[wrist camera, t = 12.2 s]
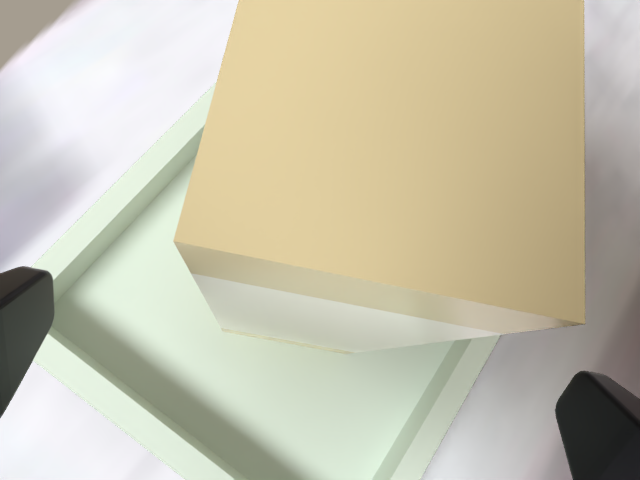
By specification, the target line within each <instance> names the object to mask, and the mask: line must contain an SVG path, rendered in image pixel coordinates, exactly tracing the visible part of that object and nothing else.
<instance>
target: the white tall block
mask: <svg viewBox="0 0 640 480" xmlns="http://www.w3.org/2000/svg"><path fill="white" fill-rule="evenodd" d="M173 242H174V244H175V245H176V247H177V249H178V251H179V253H180V255H181V256H182V258H183V260H184V262H185V264H186V265H187V267H188V269H189V271H190V273H191V275H192V276H193V278H194V280H195V282H196V284H197V285H198V287H199V289H200V291H201V293H202V294H203V296H204V298H205V300H206V302H207V304H208V305H209V307H210V309H211V311H212V313H213V314H214V316H215V318H216V320H217V322H218V324H219V325H220V327H221V329H222V331H223V332H228V333H233V334H239V335H244V336H250V337H255V338H261V339H266V340H272V341H277V342H283V343H288V344H294V345H299V346H305V347H310V348H315V349H321V350H326V351H332V352H337V353H343V354H350V353H358V352H366V351H374V350H382V349H390V348H398V347H406V346H414V345H422V344H430V343H438V342H446V341H454V340H462V339H470V338H478V337H486V336H494V335H502V334H510V333H518V332H526V331H534V330H542V329H550V328H559V327H567V326H575V325H583V324H585V119H584V0H239V2H238V6H237V9H236V13H235V17H234V20H233V24H232V28H231V31H230V35H229V39H228V42H227V46H226V50H225V53H224V57H223V61H222V64H221V68H220V72H219V75H218V79H217V83H216V86H215V90H214V94H213V97H212V101H211V105H210V108H209V112H208V116H207V119H206V123H205V127H204V130H203V134H202V138H201V141H200V145H199V149H198V152H197V156H196V160H195V163H194V167H193V171H192V174H191V178H190V182H189V185H188V189H187V193H186V196H185V200H184V204H183V207H182V211H181V215H180V218H179V222H178V226H177V229H176V233H175V237H174V240H173Z"/></svg>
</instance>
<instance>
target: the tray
mask: <svg viewBox="0 0 640 480" xmlns="http://www.w3.org/2000/svg"><path fill="white" fill-rule="evenodd" d="M216 83H217V82H216ZM216 83H215V84H214V85H213V86H212V87H211V88H210V89H209V90H208V91H207V92H206V93H205V94H204V95H203V96H202V97H201V98H200V99H199V100H198V101H197V102H196V103H195V104H194V105H193V106H192V107H191V108H190V109H189V110H188V111H187V112H186V113H185V114H184V115H183V116H182V117H181V118H180V119H179V120H178V121H177V122H176V123H175V124H174V125H173V126H172V127H171V128H170V129H169V130H168V131H167V132H166V133H165V134H164V135H163V136H162V137H161V138H160V139H159V140H158V141H157V142H156V143H155V144H154V145H153V146H152V147H151V148H150V149H149V150H148V151H147V152H146V153H145V154H144V155H143V156H142V157H141V158H140V159H139V160H138V161H137V162H136V163H135V164H134V165H133V166H132V167H131V168H130V169H129V170H128V171H127V172H126V173H125V174H124V175H123V176H122V177H121V178H120V179H119V180H118V181H117V182H116V183H115V184H114V185H113V186H112V187H111V188H110V189H109V190H108V191H107V192H106V193H105V194H104V195H103V196H102V197H101V198H100V199H99V200H98V201H97V202H96V203H95V204H94V205H93V206H92V207H91V208H90V209H89V210H88V211H87V212H86V213H85V214H84V215H83V216H82V217H81V218H80V219H79V220H78V221H77V222H76V223H75V224H74V225H73V226H72V227H71V228H70V229H68V230H67V231H66V232H65V233H64V234H63V235H62V236H61V237H60V238H59V239H58V240H57V241H56V242H55V243H54V244H53V245H52V246H51V247H50V248H49V249H48V250H47V251H46V252H45V253H44V254H43V255H42V256H41V257H40V258H39V259H38V260H37V261H36V262H35V263H34V264H33V265H32V266H31V268H37V269H42V270H47V271H48V272H50V273H51V275H52V277H53V288H54V309H55V314H54V320H53V323H52V326H51V328H50V330H49V332H48V334H47V336H46V337H45V339H44V341H43V343H42V345H41V347H40V348H39V350H38V352H37V354H36V356H35V358H34V359H33V361H34V362H36V363H37V364H38V365H39V366H41V367H42V368H43V369H44V370H46V371H47V372H48V373H50V374H51V375H52V376H53V377H55V378H56V379H57V380H59V381H60V382H61V383H62V384H64V385H65V386H66V387H67V388H69V389H70V390H71V391H73V392H74V393H75V394H76V395H78V396H79V397H80V398H82V399H83V400H84V401H85V402H87V403H88V404H89V405H90V406H92V407H93V408H94V409H96V410H97V411H98V412H99V413H101V414H102V415H103V416H105V417H106V418H107V419H108V420H110V421H111V422H112V423H113V424H115V425H116V426H117V427H119V428H120V429H121V430H122V431H124V432H125V433H126V434H128V435H129V436H130V437H131V438H133V439H134V440H135V441H136V442H138V443H139V444H140V445H142V446H143V447H144V448H145V449H147V450H148V451H149V452H151V453H152V454H153V455H154V456H156V457H157V458H158V459H159V460H161V461H162V462H163V463H165V464H166V465H167V466H168V467H170V468H171V469H172V470H174V471H175V472H176V473H177V474H179V475H180V476H181V477H182V478H184V479H185V480H420V479H421V477H422V475H423V474H424V472H425V470H426V468H427V466H428V465H429V463H430V461H431V459H432V457H433V456H434V454H435V452H436V450H437V449H438V447H439V445H440V443H441V441H442V440H443V438H444V436H445V434H446V432H447V431H448V429H449V427H450V425H451V424H452V422H453V420H454V418H455V416H456V415H457V413H458V411H459V409H460V407H461V406H462V404H463V402H464V400H465V399H466V397H467V395H468V393H469V391H470V390H471V388H472V386H473V384H474V382H475V381H476V379H477V377H478V375H479V374H480V372H481V370H482V368H483V366H484V365H485V363H486V361H487V359H488V358H489V356H490V354H491V352H492V350H493V349H494V347H495V345H496V343H497V341H498V340H499V338H500V336H501V335H494V336H486V337H478V338H470V339H462V340H454V341H446V342H438V343H430V344H422V345H414V346H406V347H398V348H390V349H382V350H374V351H366V352H358V353H350V354H343V353H337V352H332V351H326V350H321V349H315V348H310V347H305V346H299V345H294V344H288V343H283V342H277V341H272V340H266V339H261V338H255V337H250V336H244V335H239V334H233V333H228V332H223V331H222V329H221V327H220V325H219V324H218V322H217V320H216V318H215V316H214V314H213V313H212V311H211V309H210V307H209V305H208V304H207V302H206V300H205V298H204V296H203V294H202V293H201V291H200V289H199V287H198V285H197V284H196V282H195V280H194V278H193V276H192V275H191V273H190V271H189V269H188V267H187V265H186V264H185V262H184V260H183V258H182V256H181V255H180V253H179V251H178V249H177V247H176V245H175V244H174V242H173V240H174V237H175V233H176V229H177V226H178V222H179V218H180V215H181V211H182V207H183V204H184V200H185V196H186V193H187V189H188V185H189V182H190V178H191V174H192V171H193V167H194V163H195V160H196V156H197V152H198V149H199V145H200V141H201V138H202V134H203V130H204V127H205V123H206V119H207V116H208V112H209V108H210V105H211V101H212V97H213V94H214V90H215V86H216Z"/></svg>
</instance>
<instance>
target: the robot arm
mask: <svg viewBox="0 0 640 480" xmlns="http://www.w3.org/2000/svg"><path fill="white" fill-rule="evenodd" d="M54 314H55V309H54V288H53V277H52V275H51V273H50V272H48V271H47V270H42V269H37V268H31V267H25V266H22V267H17V268H14V269H12V270H9V271H6V272H3V273H0V418H1V416H2V415H3V413H4V412H5V410H6V408H7V407H8V405H9V403H10V401H11V400H12V398H13V396H14V394H15V392H16V391H17V389H18V387H19V385H20V383H21V381H22V380H23V378H24V376H25V374H26V372H27V370H28V369H29V367H30V365H31V363H32V361H33V359H34V358H35V356H36V354H37V352H38V350H39V348H40V347H41V345H42V343H43V341H44V339H45V337H46V336H47V334H48V332H49V330H50V328H51V326H52V323H53V320H54ZM555 414H556V419H557V422H558V426H559V430H560V434H561V437H562V441H563V445H564V448H565V452H566V456H567V459H568V463H569V467H570V470H571V474H572V478H573V480H640V399H639V398H637V397H636V396H635V395H633V394H632V393H630V392H629V391H627V390H626V389H625V388H623V387H622V386H620V385H619V384H618V383H616V382H615V381H613V380H612V379H611V378H609V377H608V376H606V375H603V374H600V373H594V372H589V371H580V372H578V373H577V374H576V375H575V376H574V377H573V379H572V380H571V382H570V383H569V385H568V386H567V387H566V389H565V390H564V392H563V393H562V395H561V396H560V398H559V399H558V401H557V404H556V409H555Z"/></svg>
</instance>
